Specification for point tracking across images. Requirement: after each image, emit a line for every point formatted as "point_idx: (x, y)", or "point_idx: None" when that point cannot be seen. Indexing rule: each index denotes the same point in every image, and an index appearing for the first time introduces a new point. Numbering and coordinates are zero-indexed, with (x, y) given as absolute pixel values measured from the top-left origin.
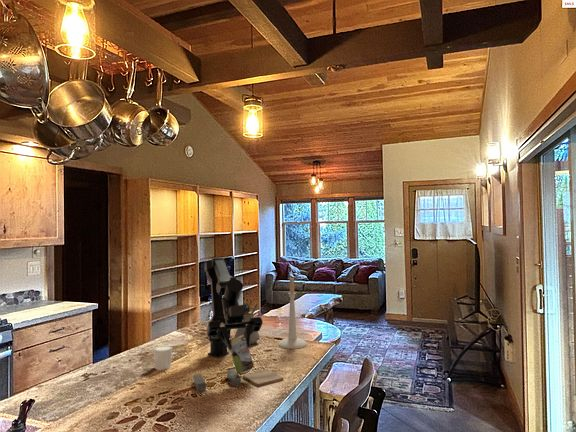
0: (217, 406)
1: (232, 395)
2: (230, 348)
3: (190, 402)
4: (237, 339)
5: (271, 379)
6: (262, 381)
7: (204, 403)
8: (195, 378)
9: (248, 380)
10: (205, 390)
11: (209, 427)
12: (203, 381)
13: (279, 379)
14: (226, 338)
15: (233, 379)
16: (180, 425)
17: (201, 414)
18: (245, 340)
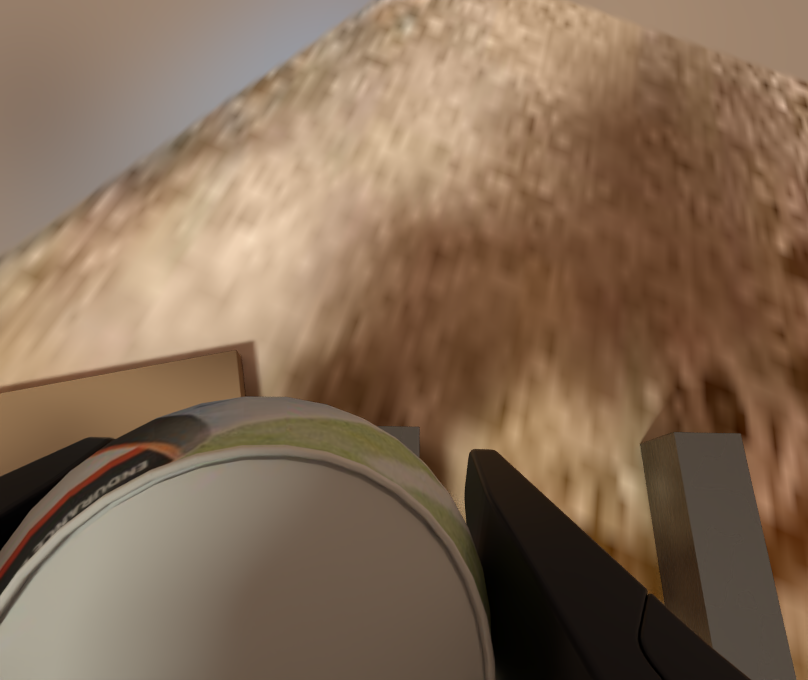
0: (579, 185)
1: (462, 289)
2: (485, 451)
3: (741, 298)
4: (305, 446)
5: (85, 397)
6: (176, 387)
7: (652, 250)
8: (776, 600)
9: None
10: (644, 444)
11: (634, 23)
12: (694, 478)
13: (17, 394)
14: (642, 615)
15: (418, 434)
16: (766, 81)
17: (670, 137)
18: (73, 474)
